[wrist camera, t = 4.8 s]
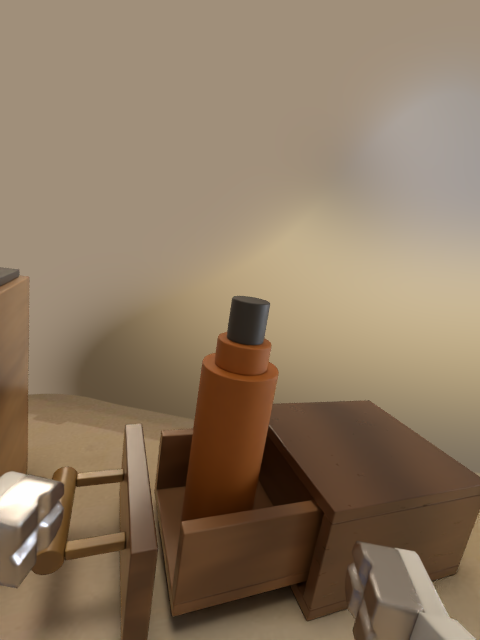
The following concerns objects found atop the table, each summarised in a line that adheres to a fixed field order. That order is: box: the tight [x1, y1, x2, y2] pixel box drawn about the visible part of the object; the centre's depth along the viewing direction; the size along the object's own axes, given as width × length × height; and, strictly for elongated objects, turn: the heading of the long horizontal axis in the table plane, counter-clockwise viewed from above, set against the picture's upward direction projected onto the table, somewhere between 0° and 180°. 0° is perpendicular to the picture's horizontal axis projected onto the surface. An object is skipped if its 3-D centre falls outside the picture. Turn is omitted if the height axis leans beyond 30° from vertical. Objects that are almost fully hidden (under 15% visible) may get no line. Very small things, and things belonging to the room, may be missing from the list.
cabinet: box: [267, 400, 480, 621], centre depth 26 cm, size 13×12×8 cm
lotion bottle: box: [181, 296, 278, 522], centre depth 21 cm, size 5×5×16 cm
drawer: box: [31, 424, 324, 640], centre depth 21 cm, size 16×10×6 cm, turn 110°
